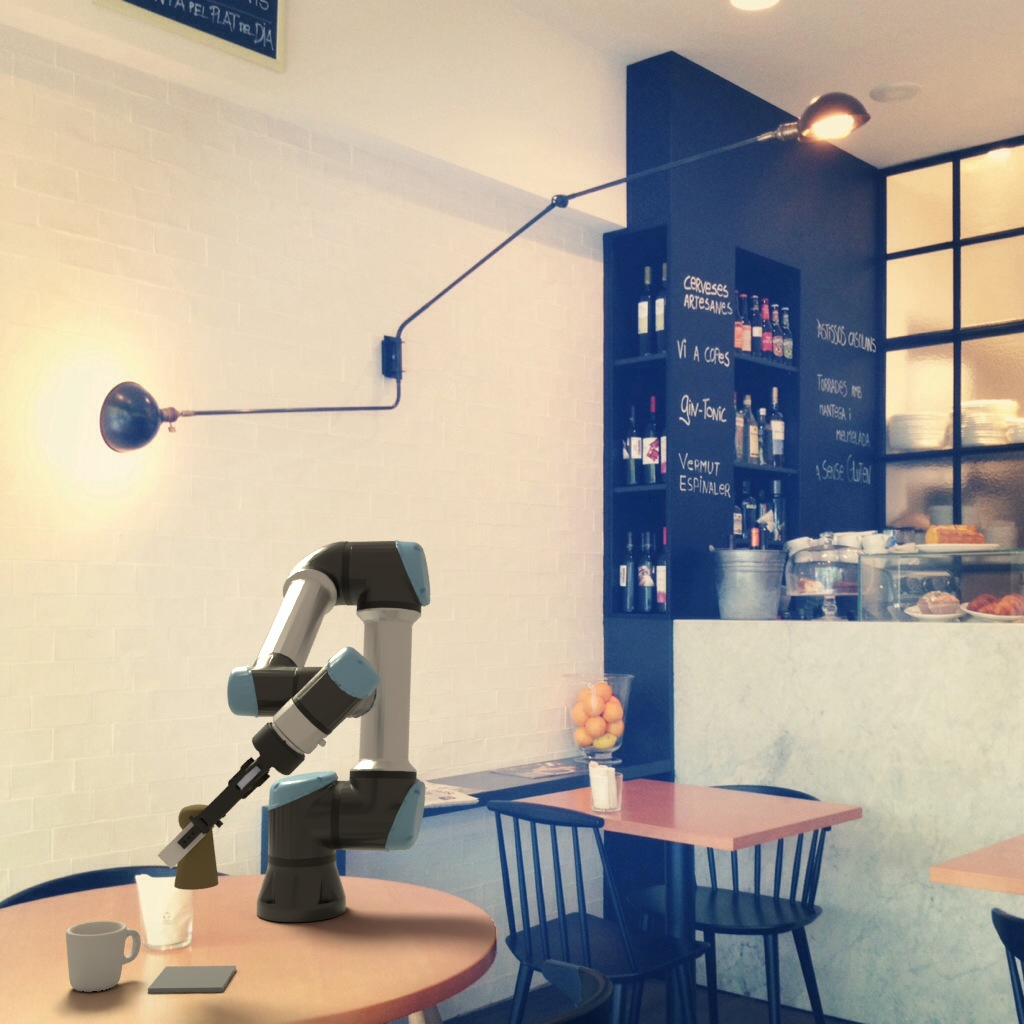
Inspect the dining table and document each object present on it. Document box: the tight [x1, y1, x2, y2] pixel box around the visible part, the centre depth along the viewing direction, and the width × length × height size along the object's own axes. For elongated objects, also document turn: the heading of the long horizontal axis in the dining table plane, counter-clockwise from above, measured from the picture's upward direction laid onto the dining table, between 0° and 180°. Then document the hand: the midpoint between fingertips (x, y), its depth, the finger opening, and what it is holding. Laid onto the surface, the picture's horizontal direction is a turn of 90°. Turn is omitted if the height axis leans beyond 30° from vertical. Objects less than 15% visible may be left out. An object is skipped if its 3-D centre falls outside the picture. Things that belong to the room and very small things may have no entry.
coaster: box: [147, 965, 237, 994], centre depth 168 cm, size 10×10×1 cm
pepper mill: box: [173, 803, 219, 891], centre depth 169 cm, size 6×6×11 cm
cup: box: [65, 920, 141, 993], centre depth 167 cm, size 11×8×8 cm
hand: (170, 857), depth 169 cm, fingers closed on pepper mill, 5 cm apart
